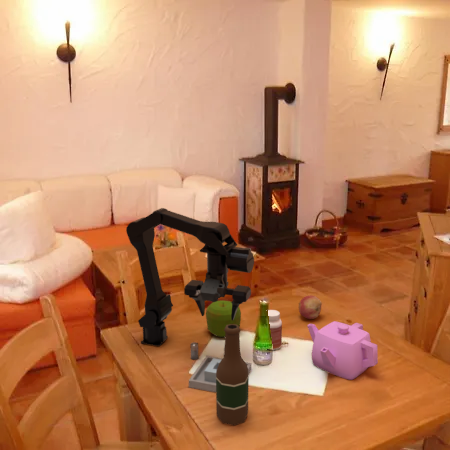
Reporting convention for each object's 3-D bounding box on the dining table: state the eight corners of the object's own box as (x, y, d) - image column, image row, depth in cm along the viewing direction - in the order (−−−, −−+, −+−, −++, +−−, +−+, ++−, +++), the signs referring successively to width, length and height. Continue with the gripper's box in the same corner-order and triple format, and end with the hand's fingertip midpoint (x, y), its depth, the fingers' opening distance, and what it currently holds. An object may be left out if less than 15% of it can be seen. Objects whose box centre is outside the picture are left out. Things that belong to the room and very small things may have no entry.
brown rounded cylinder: (189, 359, 152) (189, 345, 150) (192, 355, 154) (192, 341, 152) (196, 360, 151) (196, 346, 150) (199, 356, 153) (199, 342, 152)
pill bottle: (285, 347, 158) (286, 314, 155) (269, 352, 155) (270, 319, 152) (273, 339, 163) (273, 306, 160) (257, 344, 160) (257, 311, 157)
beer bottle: (215, 407, 129) (214, 319, 122) (246, 405, 129) (246, 318, 123) (217, 427, 121) (216, 335, 115) (250, 425, 122) (251, 333, 116)
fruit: (305, 324, 173) (306, 302, 171) (294, 315, 180) (294, 294, 178) (325, 320, 175) (326, 299, 173) (313, 311, 182) (314, 290, 180)
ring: (229, 385, 137) (229, 375, 136) (204, 380, 139) (204, 370, 138) (238, 368, 145) (238, 359, 144) (215, 364, 147) (215, 355, 147)
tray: (188, 387, 137) (188, 380, 137) (206, 362, 150) (206, 355, 149) (237, 396, 133) (237, 389, 133) (251, 369, 146) (251, 363, 145)
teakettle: (379, 380, 140) (383, 339, 137) (318, 382, 140) (320, 341, 136) (360, 349, 157) (363, 312, 153) (305, 351, 156) (306, 313, 153)
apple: (246, 329, 169) (246, 299, 167) (229, 343, 161) (229, 311, 158) (217, 322, 175) (217, 292, 172) (200, 335, 166) (199, 304, 163)
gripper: (175, 273, 142) (177, 325, 146) (240, 281, 137) (240, 334, 141) (190, 261, 152) (192, 309, 157) (251, 267, 147) (251, 317, 151)
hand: (217, 317), depth 151 cm, fingers open, 9 cm apart
